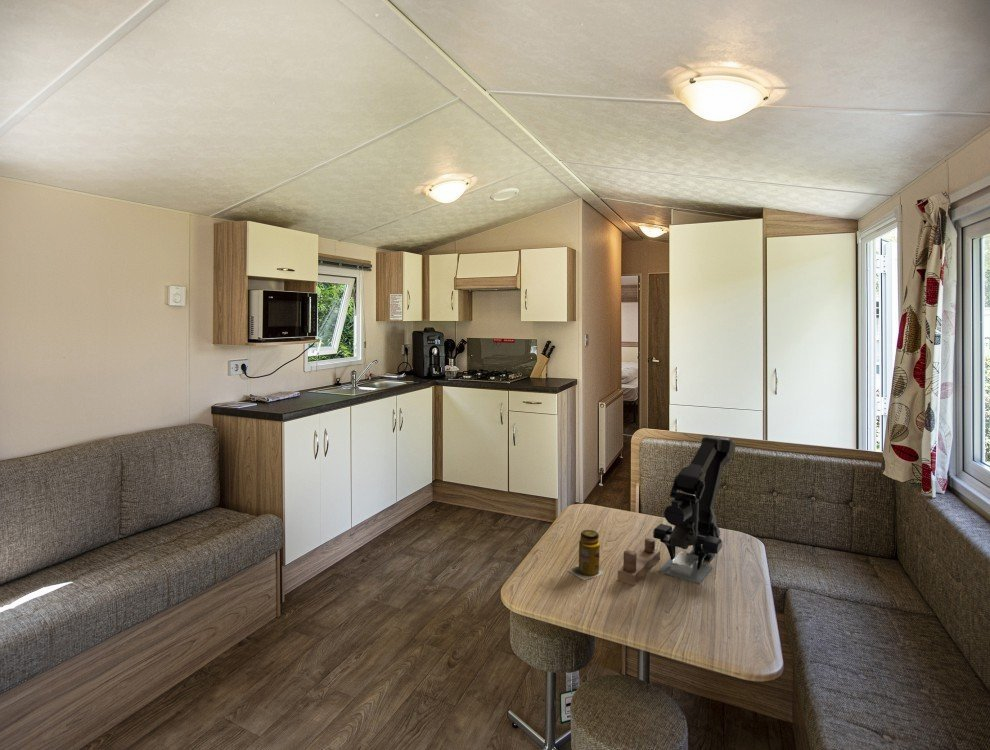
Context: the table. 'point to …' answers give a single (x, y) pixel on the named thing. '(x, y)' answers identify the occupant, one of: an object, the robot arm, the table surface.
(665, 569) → the rubber mat
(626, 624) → the table surface
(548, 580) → the table surface
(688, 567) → the lever cap
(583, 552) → the condiment
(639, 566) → the plane body
